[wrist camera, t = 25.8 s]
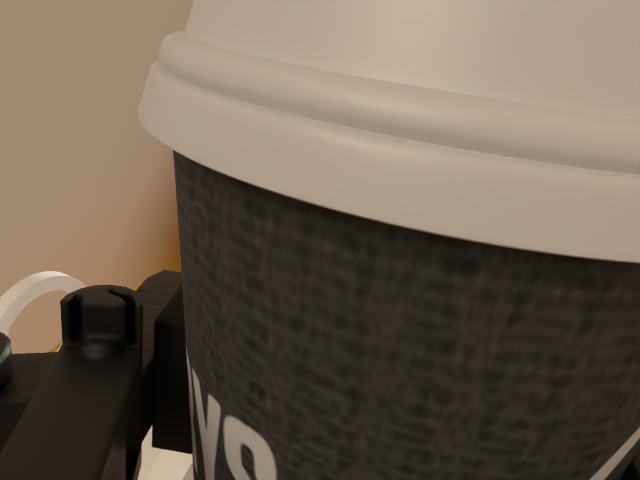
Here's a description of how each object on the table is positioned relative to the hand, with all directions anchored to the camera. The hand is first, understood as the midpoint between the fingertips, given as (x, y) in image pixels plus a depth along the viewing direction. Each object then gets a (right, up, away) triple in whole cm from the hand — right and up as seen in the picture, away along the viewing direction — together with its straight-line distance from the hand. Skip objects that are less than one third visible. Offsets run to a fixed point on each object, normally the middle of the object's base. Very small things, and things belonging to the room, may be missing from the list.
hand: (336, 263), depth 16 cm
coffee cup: (0, -10, -2) cm, 10 cm away
